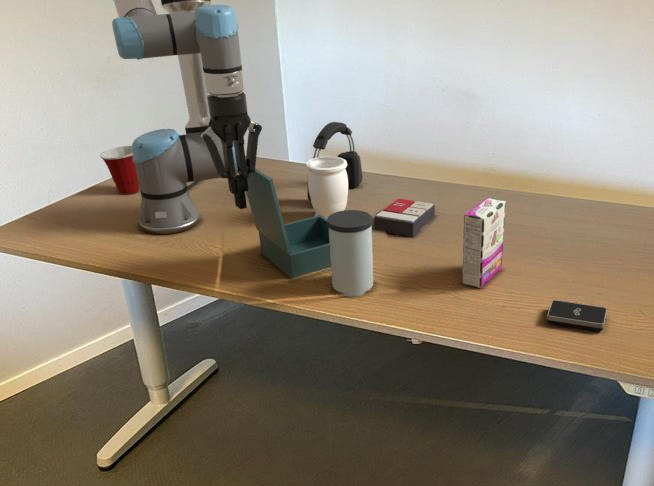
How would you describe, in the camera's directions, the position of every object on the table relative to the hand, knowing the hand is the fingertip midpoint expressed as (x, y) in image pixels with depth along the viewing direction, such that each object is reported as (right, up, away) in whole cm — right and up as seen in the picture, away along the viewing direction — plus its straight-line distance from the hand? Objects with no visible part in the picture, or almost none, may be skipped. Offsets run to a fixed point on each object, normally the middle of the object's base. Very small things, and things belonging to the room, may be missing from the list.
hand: (241, 206), depth 155 cm
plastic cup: (-44, +16, +56) cm, 73 cm away
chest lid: (+5, +1, +3) cm, 6 cm away
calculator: (+36, +2, +33) cm, 49 cm away
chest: (+13, -9, +16) cm, 22 cm away
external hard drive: (+69, -25, -10) cm, 75 cm away
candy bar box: (+53, -15, +7) cm, 55 cm away
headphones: (+17, +14, +51) cm, 55 cm away
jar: (+16, +4, +36) cm, 40 cm away
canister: (+24, -17, +3) cm, 30 cm away
